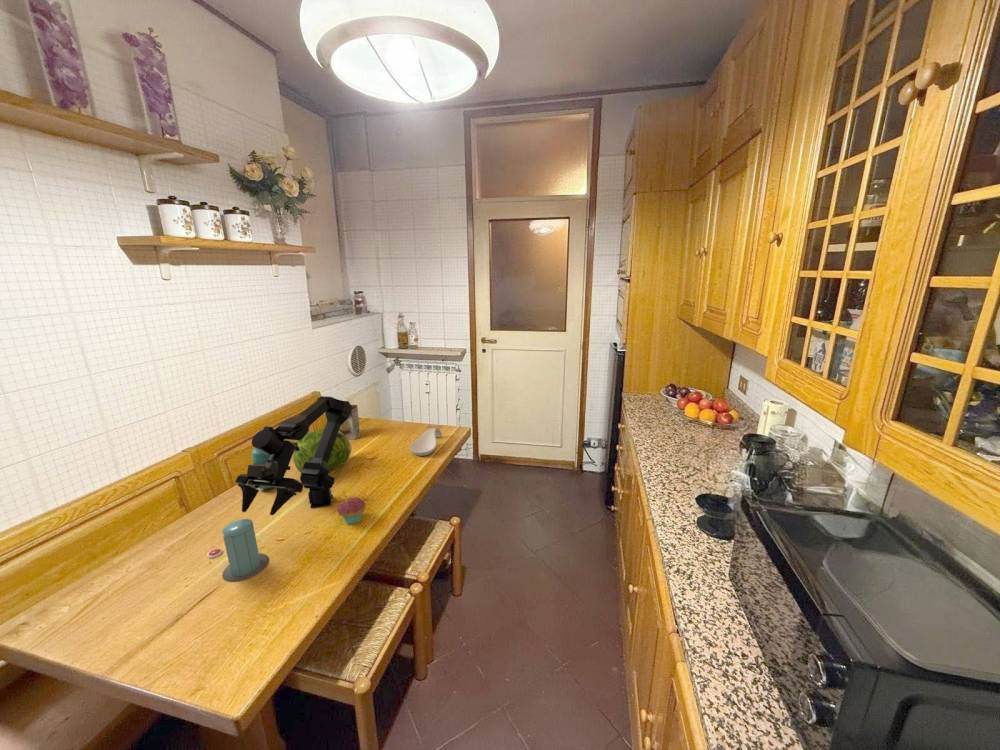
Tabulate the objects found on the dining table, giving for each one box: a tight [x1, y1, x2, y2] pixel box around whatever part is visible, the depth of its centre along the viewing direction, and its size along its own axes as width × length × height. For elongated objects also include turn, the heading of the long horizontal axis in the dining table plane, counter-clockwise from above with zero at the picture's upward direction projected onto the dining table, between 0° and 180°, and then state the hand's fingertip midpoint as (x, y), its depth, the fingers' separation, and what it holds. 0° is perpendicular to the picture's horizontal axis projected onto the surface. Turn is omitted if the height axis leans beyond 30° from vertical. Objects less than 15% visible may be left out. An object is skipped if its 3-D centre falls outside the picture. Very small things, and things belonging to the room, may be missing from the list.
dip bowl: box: [206, 547, 223, 559], centre depth 115 cm, size 4×4×1 cm
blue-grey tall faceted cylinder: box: [222, 518, 261, 576], centre depth 108 cm, size 7×7×13 cm
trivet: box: [221, 552, 270, 583], centre depth 109 cm, size 11×11×1 cm
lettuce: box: [292, 428, 352, 473], centre depth 164 cm, size 18×23×19 cm
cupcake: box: [336, 487, 367, 525], centre depth 129 cm, size 9×8×12 cm
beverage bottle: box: [251, 447, 275, 490], centre depth 149 cm, size 6×7×20 cm
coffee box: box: [339, 404, 361, 440], centre depth 196 cm, size 9×6×16 cm
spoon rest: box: [409, 427, 443, 457], centre depth 183 cm, size 24×12×7 cm, turn 169°
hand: (257, 513), depth 112 cm, fingers open, 9 cm apart
